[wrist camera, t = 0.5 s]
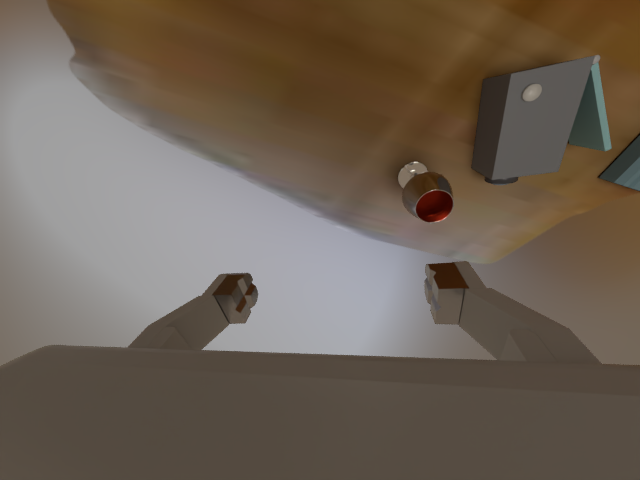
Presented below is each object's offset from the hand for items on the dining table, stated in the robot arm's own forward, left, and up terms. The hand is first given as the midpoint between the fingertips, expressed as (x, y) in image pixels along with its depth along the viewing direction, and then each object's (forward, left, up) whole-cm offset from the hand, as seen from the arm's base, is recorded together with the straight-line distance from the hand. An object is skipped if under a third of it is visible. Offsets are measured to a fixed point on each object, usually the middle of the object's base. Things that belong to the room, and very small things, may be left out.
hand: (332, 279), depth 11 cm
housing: (+3, +29, -46) cm, 55 cm away
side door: (0, +38, -46) cm, 60 cm away
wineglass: (+10, +12, -46) cm, 49 cm away
